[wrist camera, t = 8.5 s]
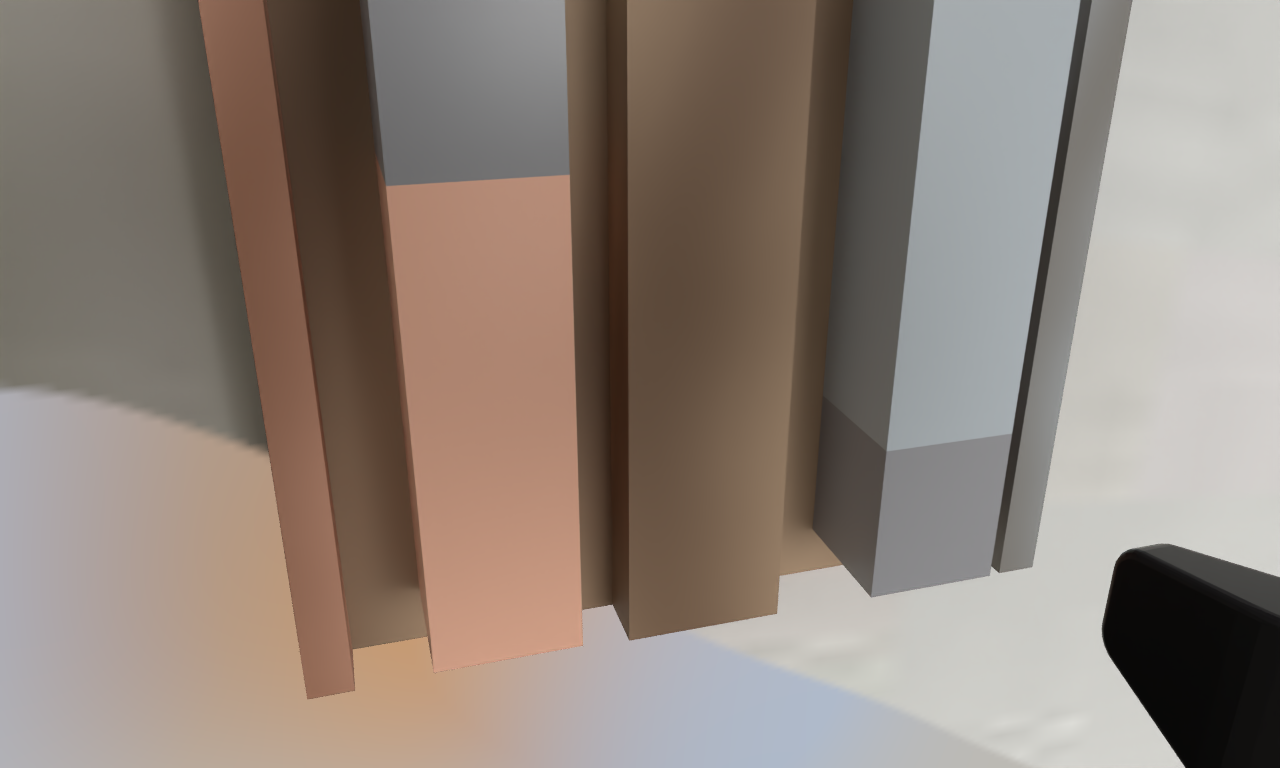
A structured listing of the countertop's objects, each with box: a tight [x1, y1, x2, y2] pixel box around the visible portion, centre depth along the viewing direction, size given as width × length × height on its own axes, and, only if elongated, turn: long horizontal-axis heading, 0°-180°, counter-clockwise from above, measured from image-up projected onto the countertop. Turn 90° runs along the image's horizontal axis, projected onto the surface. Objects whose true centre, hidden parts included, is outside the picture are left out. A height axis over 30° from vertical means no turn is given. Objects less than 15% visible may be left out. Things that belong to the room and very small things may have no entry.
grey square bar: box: [813, 0, 1081, 597], centre depth 18 cm, size 11×2×2 cm, turn 0°
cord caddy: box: [198, 0, 1132, 699], centre depth 18 cm, size 15×13×2 cm
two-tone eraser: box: [360, 0, 583, 673], centre depth 16 cm, size 11×2×2 cm, turn 0°
